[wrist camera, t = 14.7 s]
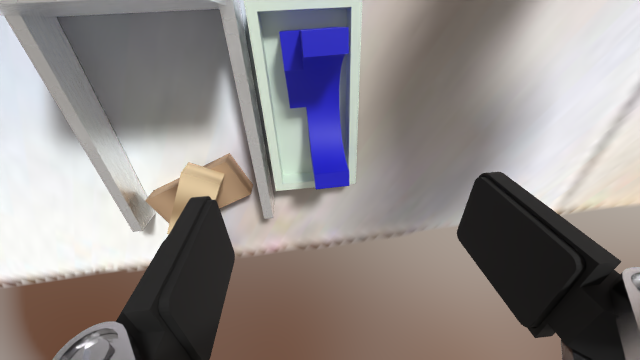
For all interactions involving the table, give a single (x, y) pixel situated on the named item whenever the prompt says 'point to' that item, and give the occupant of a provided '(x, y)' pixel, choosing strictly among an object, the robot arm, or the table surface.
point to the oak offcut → (195, 188)
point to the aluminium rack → (85, 109)
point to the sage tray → (280, 121)
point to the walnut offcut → (230, 190)
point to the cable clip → (318, 95)
